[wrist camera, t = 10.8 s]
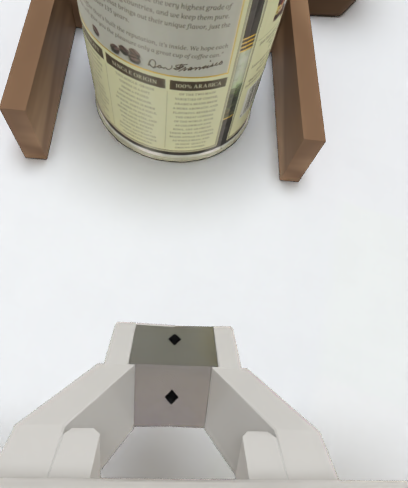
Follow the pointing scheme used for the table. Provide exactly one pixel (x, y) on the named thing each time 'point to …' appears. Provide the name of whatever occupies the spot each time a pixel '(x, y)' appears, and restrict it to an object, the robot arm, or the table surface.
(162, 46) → the coffee can
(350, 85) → the table surface
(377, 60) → the table surface
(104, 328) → the table surface
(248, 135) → the table surface
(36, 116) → the caddy
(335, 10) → the beer bottle
